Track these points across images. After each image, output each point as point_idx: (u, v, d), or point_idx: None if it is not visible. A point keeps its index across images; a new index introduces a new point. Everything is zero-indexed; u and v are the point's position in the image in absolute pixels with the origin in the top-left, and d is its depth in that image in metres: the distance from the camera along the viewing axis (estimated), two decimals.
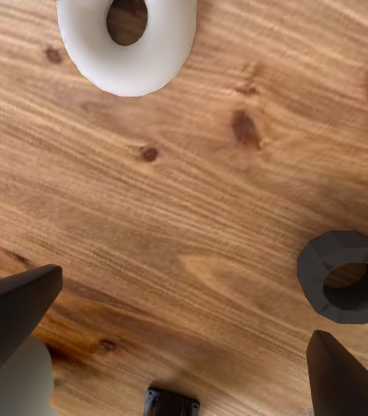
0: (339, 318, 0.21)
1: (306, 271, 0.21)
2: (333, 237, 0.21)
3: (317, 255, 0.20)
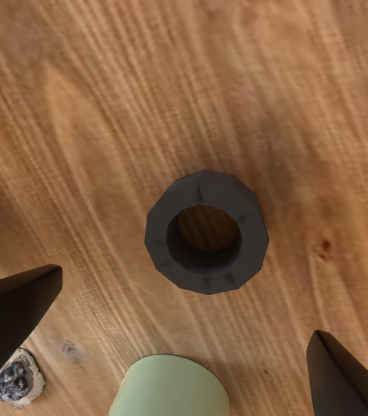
0: (162, 264, 0.15)
1: (172, 187, 0.14)
2: (231, 179, 0.15)
3: (198, 178, 0.14)
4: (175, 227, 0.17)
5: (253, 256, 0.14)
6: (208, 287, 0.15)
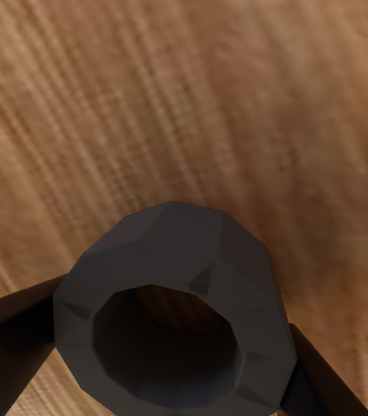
0: (89, 383, 0.08)
1: (97, 245, 0.07)
2: (219, 223, 0.08)
3: (149, 228, 0.07)
4: (125, 297, 0.10)
5: (264, 386, 0.07)
6: None
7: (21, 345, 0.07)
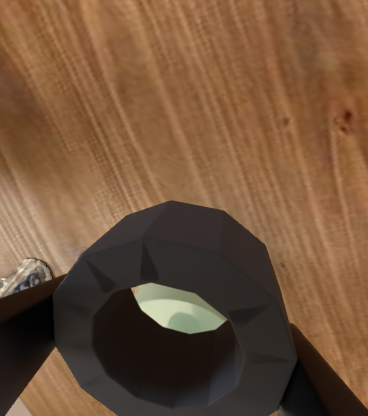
0: (89, 382, 0.08)
1: (97, 244, 0.07)
2: (219, 223, 0.08)
3: (149, 227, 0.07)
4: (125, 297, 0.10)
5: (264, 385, 0.07)
6: None
7: (21, 345, 0.07)
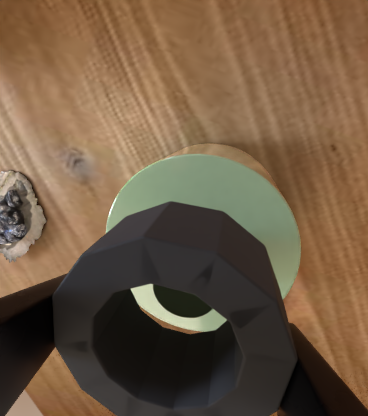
0: (89, 383, 0.08)
1: (97, 245, 0.07)
2: (219, 223, 0.08)
3: (149, 228, 0.07)
4: (125, 297, 0.10)
5: (264, 386, 0.07)
6: None
7: (21, 345, 0.07)
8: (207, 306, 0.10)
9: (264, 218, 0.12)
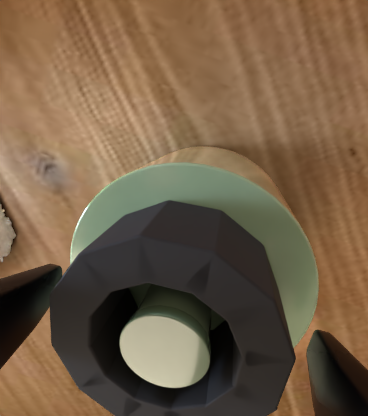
0: (87, 383, 0.08)
1: (94, 244, 0.07)
2: (216, 222, 0.08)
3: (146, 227, 0.07)
4: (123, 297, 0.10)
5: (262, 386, 0.07)
6: None
7: None
8: (194, 375, 0.07)
9: (272, 247, 0.09)
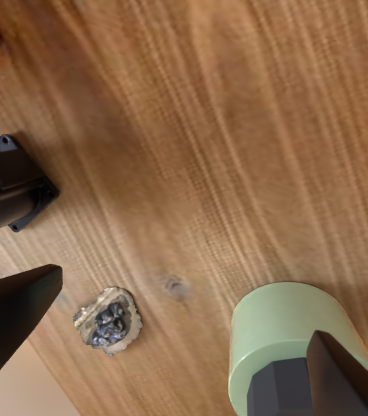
0: None
1: (283, 401, 0.14)
2: None
3: None
4: None
5: None
6: None
7: None
8: None
9: None
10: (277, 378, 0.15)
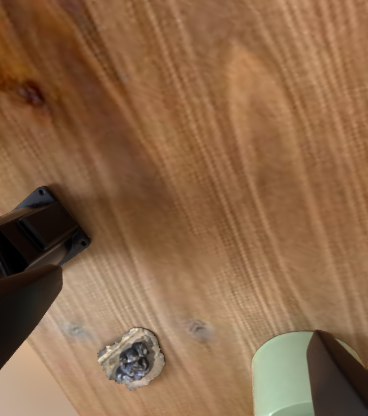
0: None
1: None
2: None
3: None
4: None
5: None
6: None
7: None
8: None
9: None
10: None
